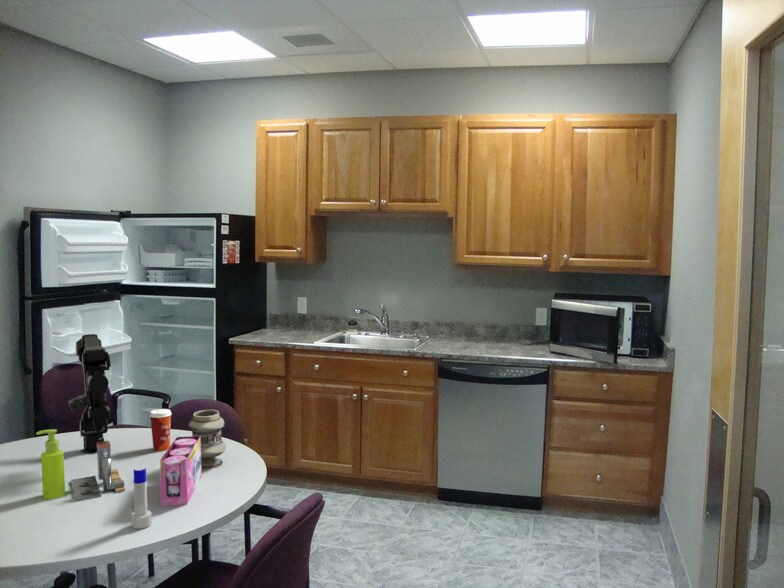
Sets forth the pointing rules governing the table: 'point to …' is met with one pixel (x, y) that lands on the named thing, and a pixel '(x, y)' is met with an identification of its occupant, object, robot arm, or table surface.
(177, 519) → the table surface
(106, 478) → the fixed pin
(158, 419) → the paper cup
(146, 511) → the bolt
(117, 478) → the beam
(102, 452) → the plate
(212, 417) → the apothecary jar
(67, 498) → the table surface
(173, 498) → the gum box
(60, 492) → the soap dispenser
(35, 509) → the table surface
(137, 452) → the table surface
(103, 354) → the robot arm
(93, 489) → the hole plate
